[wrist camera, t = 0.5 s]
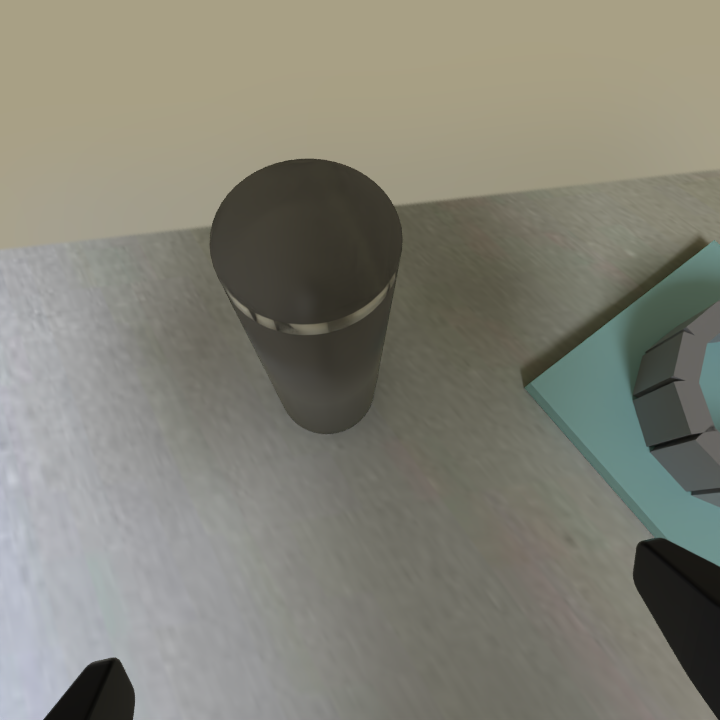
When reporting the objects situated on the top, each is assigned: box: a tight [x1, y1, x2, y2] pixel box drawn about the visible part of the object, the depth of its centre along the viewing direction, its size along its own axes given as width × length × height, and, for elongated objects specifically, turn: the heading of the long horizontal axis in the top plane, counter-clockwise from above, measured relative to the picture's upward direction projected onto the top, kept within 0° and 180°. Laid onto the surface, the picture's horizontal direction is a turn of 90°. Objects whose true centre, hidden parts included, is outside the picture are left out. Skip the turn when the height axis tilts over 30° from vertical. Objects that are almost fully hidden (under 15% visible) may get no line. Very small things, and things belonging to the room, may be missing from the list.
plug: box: [210, 159, 402, 434], centre depth 17 cm, size 4×4×12 cm
